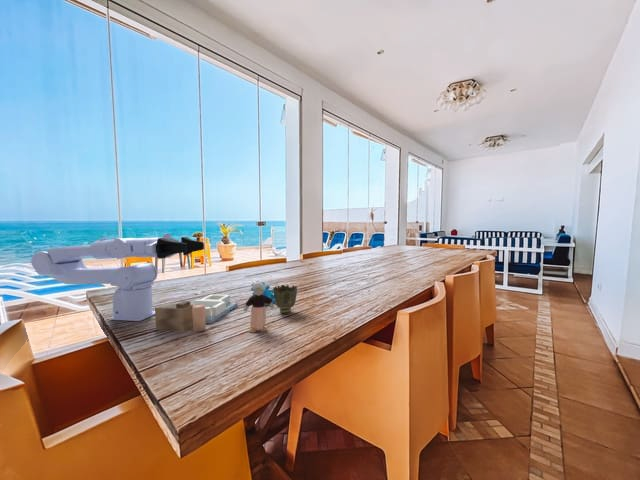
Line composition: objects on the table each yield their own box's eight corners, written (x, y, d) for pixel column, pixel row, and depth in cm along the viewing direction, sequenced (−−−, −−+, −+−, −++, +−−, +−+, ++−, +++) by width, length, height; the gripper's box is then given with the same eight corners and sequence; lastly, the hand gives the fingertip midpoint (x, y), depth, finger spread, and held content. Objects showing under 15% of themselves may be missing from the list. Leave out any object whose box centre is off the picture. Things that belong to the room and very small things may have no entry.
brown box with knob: (155, 330, 67) (154, 303, 67) (166, 324, 71) (165, 299, 71) (183, 331, 66) (183, 305, 66) (193, 326, 70) (192, 300, 70)
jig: (171, 321, 73) (171, 308, 73) (204, 304, 89) (204, 294, 89) (211, 323, 72) (210, 310, 72) (237, 306, 88) (237, 295, 87)
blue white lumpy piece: (262, 304, 84) (248, 280, 88) (251, 315, 85) (238, 291, 89) (283, 300, 93) (270, 279, 97) (273, 310, 95) (260, 289, 99)
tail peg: (190, 331, 67) (189, 308, 66) (197, 326, 70) (196, 304, 69) (201, 331, 66) (200, 308, 66) (207, 327, 69) (207, 305, 69)
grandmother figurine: (246, 335, 64) (245, 284, 63) (243, 330, 67) (242, 281, 66) (276, 329, 67) (275, 281, 67) (271, 324, 71) (271, 278, 70)
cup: (268, 314, 79) (268, 288, 78) (281, 307, 85) (280, 283, 85) (290, 318, 76) (290, 291, 75) (301, 310, 83) (301, 285, 82)
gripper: (130, 234, 68) (176, 232, 66) (170, 233, 83) (209, 232, 81) (131, 260, 69) (178, 260, 67) (171, 255, 83) (210, 255, 81)
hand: (195, 246), depth 74 cm, fingers open, 7 cm apart
